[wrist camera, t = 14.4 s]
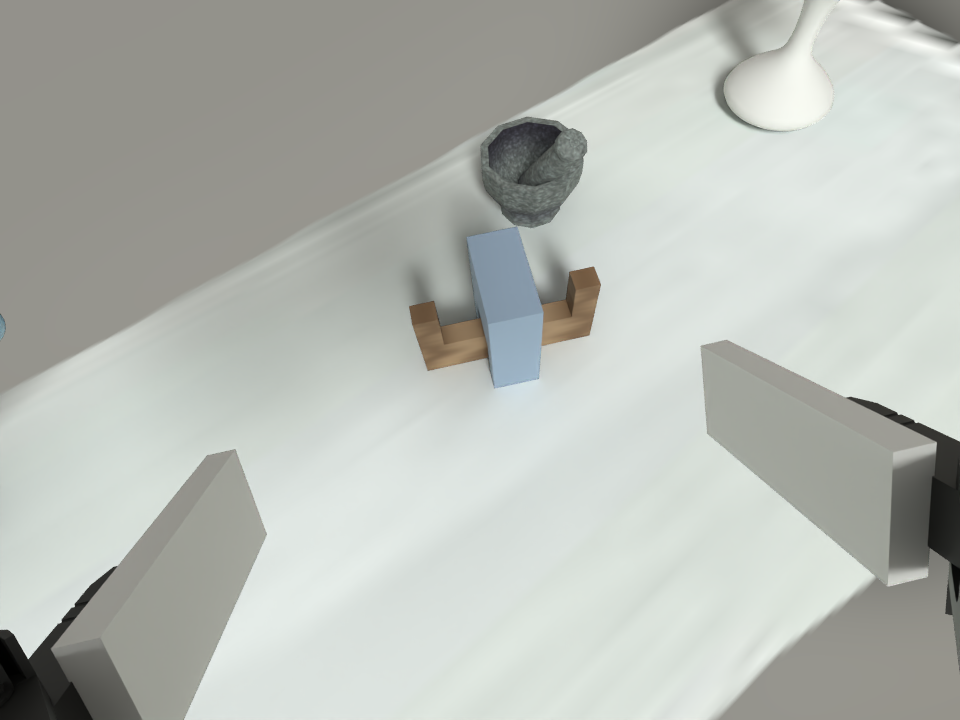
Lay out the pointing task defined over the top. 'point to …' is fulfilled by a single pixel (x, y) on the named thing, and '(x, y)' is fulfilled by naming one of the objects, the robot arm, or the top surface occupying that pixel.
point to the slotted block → (506, 305)
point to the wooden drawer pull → (469, 336)
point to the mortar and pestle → (532, 168)
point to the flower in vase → (785, 79)
